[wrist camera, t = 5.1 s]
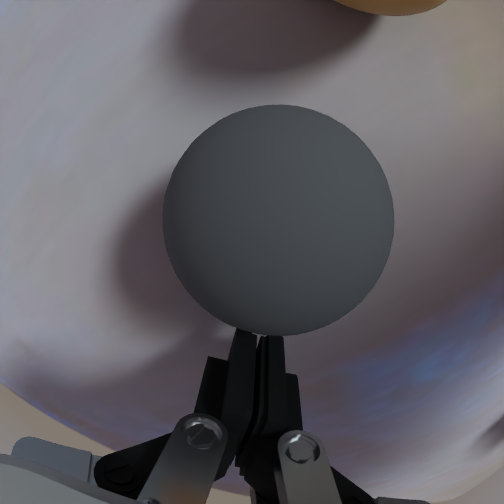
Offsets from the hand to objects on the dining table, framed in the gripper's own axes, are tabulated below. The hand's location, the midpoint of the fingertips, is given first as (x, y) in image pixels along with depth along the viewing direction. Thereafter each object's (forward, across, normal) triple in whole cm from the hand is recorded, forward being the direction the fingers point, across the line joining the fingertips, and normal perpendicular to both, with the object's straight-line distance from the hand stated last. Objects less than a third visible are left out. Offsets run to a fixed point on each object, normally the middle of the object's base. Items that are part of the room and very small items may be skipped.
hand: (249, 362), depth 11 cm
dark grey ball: (-1, +1, -6) cm, 6 cm away
